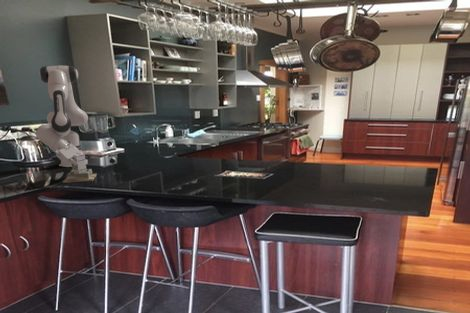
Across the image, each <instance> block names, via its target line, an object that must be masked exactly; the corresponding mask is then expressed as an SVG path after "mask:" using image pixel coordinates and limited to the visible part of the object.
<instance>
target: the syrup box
mask: <svg viewBox="0 0 470 313" xmlns="http://www.w3.org/2000/svg"><path fill="white" fill-rule="evenodd" d="M85 154H86V153H84V152H83V153H74V154H73V156H74V157H72V159H73V160H74V161H76V162H77V163H78V164H77V165H76V166H75V165H74V164H72V167H71V171H72V170H73V174H76V173H87V171H86V169H87V164H86V162H85V159H86V155H85Z"/></svg>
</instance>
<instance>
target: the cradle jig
mask: <svg viewBox="0 0 470 313" xmlns="http://www.w3.org/2000/svg"><path fill="white" fill-rule="evenodd" d="M86 171H87V173H76V174H73V170H72V169H71V171H70V172H68V173H67V174H66V177H65V179H64V180H63V181H62V183H64V184H65V183H66V184H67V183H80V182H82V183H83V182H92V181H94V180H95V178H96V177H97V174H98V173H93V170H92V168H86Z"/></svg>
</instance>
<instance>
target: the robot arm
mask: <svg viewBox="0 0 470 313" xmlns="http://www.w3.org/2000/svg"><path fill="white" fill-rule="evenodd" d="M39 78H40V79H41V81H42V82H43V83H46V84H47V91H48V94H49V98H50V99H51V100H52V101H53V111H50V112H49V113H48V114H47V117H46V121H47V124H46V123H45V124H44V123H42V124H40V125H39V126H38V127H37V129H36V131H35V136H36V138H37V139H38V140H39V141H40V142H41V143H43V144H44V145H46V146H48V147H49V149H50V150H51V151H53V152H54V154H55V156H56V157H57V158H58V160H60V164H58V166H59V167H65V168H70V167H71V168H72V164H74V165H75V166H76V165H77V164H78V163H77V162H76V161H74V160H73V159H72V157H74V156H73V154H74V153H84V152H83V151H82V147H81V146H82V145H81V144H80V136H79V134H78V133H77V132H76V131H73V130H71V127H78V126H84V125H86V124H87V123H88V120H89V117H88V114H87V112H86V111H85V110H83V109H81V108H80V107H79V106H78V104H77V103H76V101H75V100H76V99H75V98H74V96H75V95H74V92H73V86H72V84H74V83H75V82H77V81H78V79H79V71H78V69H77V67H75V66H73V65H49V66H48V65H45V66H42V67H40V69H39ZM85 162H86V165H88V159H86V158H85Z"/></svg>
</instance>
